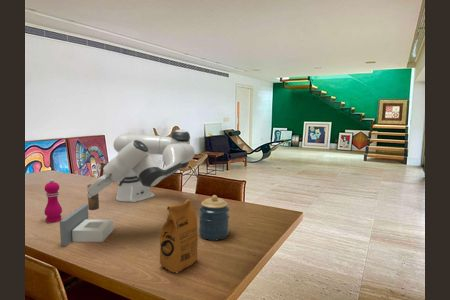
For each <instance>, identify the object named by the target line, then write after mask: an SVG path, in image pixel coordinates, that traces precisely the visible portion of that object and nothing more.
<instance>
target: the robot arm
mask: <svg viewBox="0 0 450 300" xmlns="http://www.w3.org/2000/svg"><path fill="white" fill-rule="evenodd" d="M190 135H191V134H190V133H189V131H188V130H185V129H175V130H174V131H172V132H171V136H164V135H152V134H151V135H150V134H135V133H133V132H126V133H122V134H119V135H118V136H117V137H116V138H115V139H114V141H113V148H114V150H115V151H116V153H117V155H116V156H114V157H113V158H112V159H110V161H108V162H107V163H106V164H105V165H104V167H102V168H103V169H102V170H103V172H102V175H100V177H98V178H97V179H96V180H95V181H94V182H93V183H91V184H92V185H91V186H90V187H89V188H88V187H87V190H86V191H87V194H86V197H87V199H88V198H91V197H92V196H94V195H96V194H97V193H98V194H100V193H101V192H102V191H103V190H105V189H106V188H107V187H109V186H110V185H112V184H115V183H117V193H116V197H115V200H116V201H118V202H131V203H135V202H140V201H143V200H148V199H151V198H154V197H155V194H154V193H153V192H152V191H151V188H152V187H153V188H154V186H156V185H158V184H159V183H160V182H162V181H163V180H165V179H167V178H170V176H172V175H174V174H175V173H177V172H178V171H180V170H182V169H185V168H187V167H188V166H189V162H190V161H191V160H193V159H194V157H195V154H196V153H195V148H194V147H193V145H192V144H191V136H190ZM151 155H158V156H159V155H162V160H163V163H164V165H165V166H164V167H160V166H159V165H158V164H157V163H156V162H155V160H154V159H153V157H152V156H151ZM88 192H89V193H88Z"/></svg>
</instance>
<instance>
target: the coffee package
mask: <svg viewBox="0 0 450 300" xmlns="http://www.w3.org/2000/svg"><path fill="white" fill-rule="evenodd" d="M166 209H167V210H168V212H169V214H168V215H167V218H166V221H165V223H164V224H163V226H162V228H161V231H160V236H159V247H160V249H159V252H160V253H159V264H160V266H161V267H162V268H163V267H165V268H164V269H166V268H167V269H168V271H169V272H170V271H171V272H170V273H174V272H179V271H180V272H181V271H183V270H184V269H186V267H187V268H189V267H188V266H190V265H191V266H192V265H193V264H194V263H195V262H196V260H197V261H198V243H199V242H198V239H199V238H198V237H199V235H198V234H199V231H198V220H197V215H196V212H195V210H194V206H193V204H192V202H191V199H189V198H188V199H186V200H185V201H184V202H183V204H178V205H168V206H167V208H166ZM191 266H190V267H191ZM167 269H166V270H167ZM180 272H179V273H180Z"/></svg>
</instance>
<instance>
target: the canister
mask: <svg viewBox="0 0 450 300" xmlns="http://www.w3.org/2000/svg"><path fill="white" fill-rule="evenodd" d="M228 205H229V204H228V202H227V200H224V199H223V198H221V197H218V196H217V195H216V194H213V195H212V196H211V197H209V198H205V199H204V200H202V201H201V205H200V206H199V211H200V213H199V216H198V218H199V220H198V221H199V225H198V234H200V235H199V236H200V238H202V239H204V238H205V239H204V240H206V239H210V240H209V241H217V240H216V239H222V238H224V239H226V238H227V237H228V236H227V235H229V232H230V229H229V219H230V215H229V211H230V208H229V206H228ZM226 236H227V237H226ZM225 237H226V238H225ZM222 240H223V239H222Z"/></svg>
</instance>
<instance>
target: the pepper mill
mask: <svg viewBox="0 0 450 300" xmlns="http://www.w3.org/2000/svg"><path fill="white" fill-rule="evenodd" d="M44 191H45V192H46V197H47V204H46V206H45V208H44V216H46V217H45V222H46V223H57V222H60V221H61V220H62V215H61V214H62V212H63V209H62V208H63V207H62V206H61V204H60V202H59V200H58V197H59V191H60V184H59V183H57V182H56V181H55V179H53V178H51V179H49V182H47V183H46V184H45V185H44Z"/></svg>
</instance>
